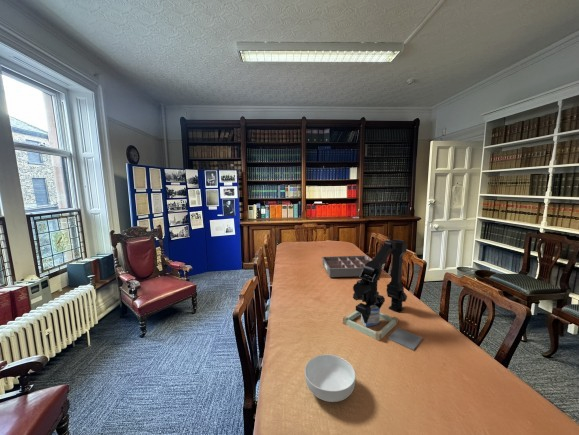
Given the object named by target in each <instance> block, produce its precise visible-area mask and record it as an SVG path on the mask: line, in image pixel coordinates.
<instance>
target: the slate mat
mask: <svg viewBox="0 0 579 435" xmlns="http://www.w3.org/2000/svg"><path fill="white" fill-rule="evenodd" d="M423 338H424V337H422V336H419V335H417V334H415V333H412V332H410V331H407V330H405V329H402V328H400V327H397V328H396V329H395V330H394V331H393V332H392V333H390V335H389V336H387V339H388V341H389V340H390V341H391V342H394V343H396V344H399V345H400V346H403V347H404V348H407V349H409V350H411V351H414V350H415V349H416V348H418V346H419V344H420V343H421V342H422V341H423Z"/></svg>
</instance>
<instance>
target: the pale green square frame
mask: <svg viewBox="0 0 579 435" xmlns="http://www.w3.org/2000/svg"><path fill="white" fill-rule="evenodd" d="M359 316H361V313H360V312H358V311H356V310H354V311H353V312H351V313H350V314H348V315H347V316H343V317H342V324H343V325H345V326H347V327H349V328H352V329H354V330H356V331H358V332H360V333H362V334H364V335H366V336H369V337H370V338H372V339H375V340H376V341H378V342H380V341H381V340H382V339H383V338H384V337H385V336H386V335H387V334H388V333H389V332H391V331H392V329H393V328H395V327H396V326H397V325H398V324H399V317H398V316H390V315H388V314H385V313H382V312H380V320H383V321H384V322H388V323H387V324H386V325H385V326H383V327H382V328H381V329H380V330H377V331H375V330H372V329H371V328H369V327H365V326H364V325H363V324H362V325H361V324H359V323H357V322H355V321H354V320H355V319H357V318H358V317H359Z"/></svg>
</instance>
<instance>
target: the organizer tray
mask: <svg viewBox="0 0 579 435" xmlns="http://www.w3.org/2000/svg"><path fill="white" fill-rule="evenodd" d="M321 258H322V266H323V267H324V269H325V271H326V273H327V274H328V276H329V277H330V278H342V277H343V278H344V277H346V278H347V277H348V278H351V277H359V276H360V274H361V272H362V270H363V267H364V266H365V265H366V264H367V263H368V262H369V261H371V260H373V258H371V257H370V256H368V255H367V254H366V253H364V255H342V256H341V255H339V256H338V255H337V256H321ZM364 276H366V275H364ZM366 277H367V276H366Z"/></svg>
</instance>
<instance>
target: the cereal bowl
mask: <svg viewBox="0 0 579 435" xmlns="http://www.w3.org/2000/svg"><path fill="white" fill-rule="evenodd" d="M304 379H305V383H306V386H307V388H308V389H309V391H310V393H311V394H313V395H314V396H315V397H316V398H318V399H320V400H322V401H325V402H330V403H336V402H341V401H343V400H346V399H348V397H349V396H351V395H352V393H353V391H354V389H355V386H356V380H357V376H356V370H355V369H354V367H353V365H352V364H351V363H350V362H349V361H348V360H346V359H345V358H342V357H341V356H339V355H335V354H329V353H326V354H320V355H316V356H314V357H312V358H310V359H309V360H308V361H307V363H306V364H305V367H304Z"/></svg>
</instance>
